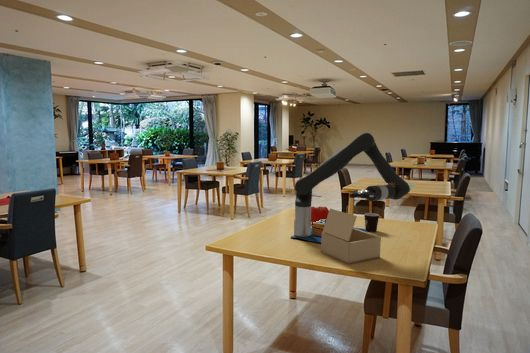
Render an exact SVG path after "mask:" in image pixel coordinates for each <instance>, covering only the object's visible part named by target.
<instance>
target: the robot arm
mask: <svg viewBox="0 0 530 353" xmlns="http://www.w3.org/2000/svg"><path fill="white" fill-rule="evenodd" d="M362 152H364V154H365V155H367V157H368V158H369V160H371V162H372V164H373V165H374V167H375V169H376V170H377V172H378V174H379V175H380V176H381V178H382V179H383V180H384V182H385V183H386V184H379V185H378V184H377V185H369V186H367V187H366V188H365V189H360V190H358V189H354V190H353V192H349V197H348V198H350V199H356V198H357V199H359V198H360V199H366V200H367V201H369V202H375V201H383V200H387V199H388V200H389V199H390V200H395V201H397V200H400V199H402V198H403V197H404V196H406V195H408V194H409V193H410V192H411V187H410V185H409V184H408V182H406V180H404V179H403V178H402V177H401V176H400V175H398V174H397V172H396V171H395V170H394V169H393V167H392V165H391V163H389V162H388V160H387V159H386V158H385V157H384V156H383V154H382V153H381V151H380V150H379V147H378V145H377V143H376V140H375V138H374V136H373V135H372V134H371V133H369V132H361V133H360V134H359V135H357V136H356V137H355V138H354V139H353V140H351V142H349V143H348V144H347V145H346V146H345V147H343V148H341V149H340V150H338V151H337V152H335V153H334V154H332V155H331V156H329V157H328V158H326V159H325V160H324V161H323V162H321V164H320V165H318V166H317V167H316V168H315V169H314V170H313V171H311V173H309V174H307V175H306V176H304V177H299V179H298V180H297V181H295V183H294V191H295V202H294V220H293V221H294V222H293V236H296V237H299V238H300V237H303V238H304V237H310V236H311V231H312V229H311V228H312V227H311V226H312V225H311V224H312V222H311V207H312V201H313V198H312V197H313V189H314V188H315V187H316V186H318V185H319V184H320V183H322V182H324V181H326V180H327V179H329V178H330V177H333V176H334V175H336V174H337V173H338V172H339V171H341V170H342V169H344V168H345V167H346V166H347V165H348V164H349V163H350V162H351V161H352V159H354V158H356V156H358V155H360V154H361V153H362ZM391 183H394V186H393V185H391Z"/></svg>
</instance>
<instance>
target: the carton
mask: <svg viewBox="0 0 530 353" xmlns="http://www.w3.org/2000/svg"><path fill="white" fill-rule="evenodd" d="M381 241H382V236H379V235H376V234H374V233H371V232H368V231H363V230H361V229H359V228H356V227H355V228H354V227H353V230H352V233H351V236H350V240H349V241H347V240H344V239H341V238H339V237H336V236H333V235H331V234H328V233H325V232H323V231H322V232H321V242H320V243H321V244H320V246H321V247H320V253H322V254H324V255H327V256H329V257H330V258H333V259H334V260H337V261H341V262H342V263H345V264H346V265H350V264H351V265H352V264H356V263H360V262H366V261H370V260H374V259H375V260H376V259H379V258H381V246H382V244H381Z"/></svg>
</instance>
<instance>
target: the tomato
mask: <svg viewBox="0 0 530 353" xmlns="http://www.w3.org/2000/svg"><path fill="white" fill-rule="evenodd" d="M329 210H330V209H328V207H327V206H317V207H315V206H311V224H313V222H316V221H319V220H320V219H327V216H328V213H329Z"/></svg>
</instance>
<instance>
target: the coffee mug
mask: <svg viewBox="0 0 530 353" xmlns="http://www.w3.org/2000/svg"><path fill="white" fill-rule="evenodd" d="M363 215H364V227H365V232H367V233H376V232H377V230H378V225H379V219H380V218H379V217H380V215H379V214H378V213H374V212H367V213H364V214H363Z"/></svg>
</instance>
